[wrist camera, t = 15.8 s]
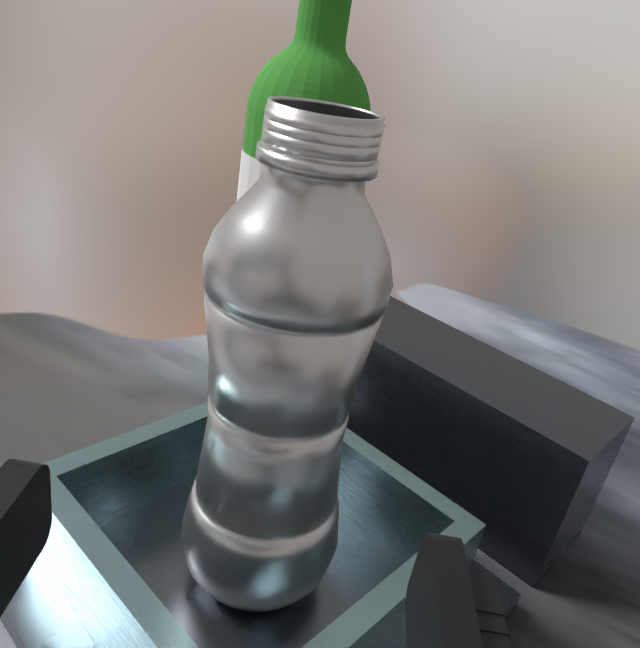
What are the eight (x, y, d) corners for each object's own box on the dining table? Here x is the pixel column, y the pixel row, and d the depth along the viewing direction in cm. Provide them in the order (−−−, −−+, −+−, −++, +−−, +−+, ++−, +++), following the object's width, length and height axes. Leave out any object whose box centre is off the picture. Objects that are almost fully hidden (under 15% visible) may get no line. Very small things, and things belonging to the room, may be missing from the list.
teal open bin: (206, 964, 17) (235, 806, 13) (-39, 552, 27) (-59, 402, 24) (580, 532, 35) (634, 417, 31) (347, 384, 45) (368, 285, 42)
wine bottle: (314, 403, 42) (413, -121, 29) (205, 379, 43) (254, -147, 30) (329, 352, 49) (415, -90, 36) (236, 331, 50) (286, -111, 37)
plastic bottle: (345, 625, 26) (473, 142, 17) (180, 645, 24) (229, 110, 15) (309, 513, 31) (392, 105, 23) (173, 522, 29) (207, 78, 21)
